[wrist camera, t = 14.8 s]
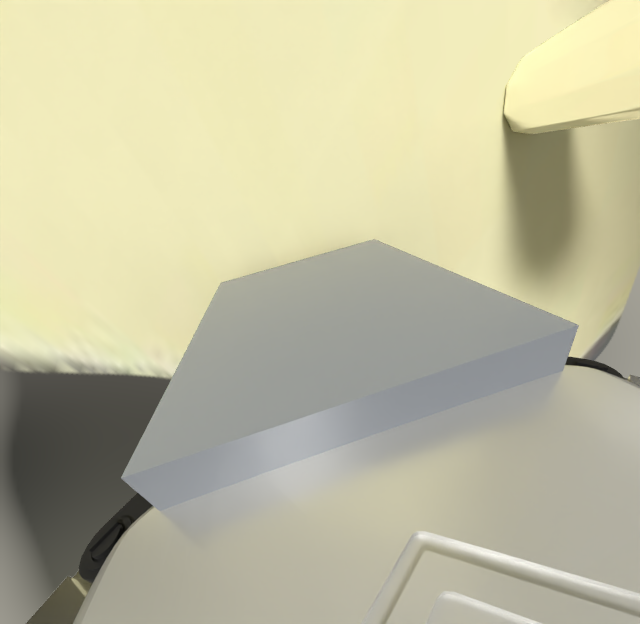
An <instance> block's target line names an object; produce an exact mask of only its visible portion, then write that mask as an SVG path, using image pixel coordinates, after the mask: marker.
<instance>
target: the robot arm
mask: <svg viewBox="0 0 640 624" xmlns="http://www.w3.org/2000/svg"><path fill="white" fill-rule="evenodd" d="M26 624H640V377H637V376H632V375H630V376H629V378H628V379H627V378H623V377H622V375H621V374H620V373H618V372H617V371H616V370H615V369H613V368H611V367H609V366H607V365H605V364H602V363H599V362H596V361H592V360H587V359H581V358H574V357H568V358H567V361H566V363H565V366H564V369H563V371H561V372H558V373H555V374H552V375H549V376H545V377H542V378H539V379H536V380H533V381H530V382H527V383H524V384H521V385H518V386H515V387H512V388H509V389H506V390H503V391H500V392H498V393H495V394H492V395H489V396H486V397H482V398H479V399H476V400H473V401H470V402H467V403H465V404H462V405H459V406H456V407H453V408H450V409H447V410H444V411H441V412H438V413H435V414H433V415H430V416H427V417H424V418H421V419H418V420H415V421H412V422H409V423H406V424H403V425H401V426H398V427H395V428H392V429H389V430H386V431H383V432H380V433H377V434H374V435H372V436H369V437H366V438H363V439H360V440H357V441H354V442H351V443H349V444H346V445H343V446H340V447H337V448H334V449H332V450H329V451H326V452H323V453H320V454H317V455H314V456H312V457H309V458H306V459H303V460H300V461H297V462H295V463H292V464H289V465H286V466H283V467H280V468H277V469H275V470H272V471H269V472H266V473H263V474H260V475H258V476H255V477H252V478H250V479H247V480H244V481H241V482H239V483H236V484H233V485H230V486H227V487H224V488H222V489H219V490H216V491H213V492H211V493H208V494H205V495H202V496H200V497H197V498H194V499H191V500H189V501H186V502H183V503H181V504H178V505H175V506H172V507H170V508H167V509H164V510H162V511H159V510H158V509H156V508H155V507H154V506H153V505H152V504H151V503H149V502H148V501H147V500H146V499H145V498H144V497H142V496H141V495H140V494H139V493H137V494H136V495H135V496H134V497H133V498H132V499H131V500H130V501H129V502H128V503H127V504H126V505H125V506H124V507H123V508H122V509H121V510H120V511H119V512H118V513H116V514H115V516H113V517H112V518H111V519H110V520H109V521H108V522H107V523H106V524H105V525H104V526H103V527H102V528H101V529H100V530H99V532H98V533H97V534H96V535H95V536H94V538H93V539H92V540H91V542H90V543H89V544H88V546H87V548H86V550H85V552H84V554H83V555H82V558H81V561H80V565H79V571H78V572H77V573H76V574H75V575H74V577H73V578H72V577H70V576H67V577H66V578H65V580H64V581H63V582H62V583H61V584H60V585H59V587H58V588H57V589H56V590H55V591H54V592H53V593H52V594H51V595H50V597H49V598H48V599H47V600H46V601H45V602H44V603H43V605H42V606H41V607H40V608H39V609H38V610H37V611H36V612H35V614H34V615H33V616H32V617H31V618H30V619H29V620H28V622H27V623H26Z"/></svg>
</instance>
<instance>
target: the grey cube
mask: <svg viewBox="0 0 640 624" xmlns="http://www.w3.org/2000/svg"><path fill="white" fill-rule="evenodd" d="M578 326H579V325H577V324H575V323H572V322H570V321H567V320H565V319H563V318H560V317H558V316H556V315H553V314H551V313H548V312H546V311H544V310H541V309H539V308H537V307H534V306H532V305H529V304H527V303H525V302H522V301H520V300H518V299H515V298H513V297H510V296H508V295H506V294H503V293H501V292H499V291H496V290H494V289H491V288H489V287H487V286H484V285H482V284H479V283H477V282H475V281H472V280H470V279H468V278H465V277H463V276H460V275H458V274H456V273H453V272H451V271H449V270H446V269H444V268H441V267H439V266H437V265H434V264H432V263H430V262H427V261H425V260H422V259H420V258H418V257H415V256H413V255H411V254H408V253H406V252H403V251H401V250H399V249H396V248H394V247H392V246H389V245H387V244H384V243H382V242H380V241H377V240H375V239H373V240H370V241H366V242H363V243H359V244H356V245H352V246H349V247H345V248H342V249H338V250H335V251H331V252H328V253H324V254H321V255H317V256H313V257H310V258H306V259H303V260H299V261H296V262H292V263H289V264H285V265H282V266H278V267H275V268H271V269H268V270H264V271H261V272H257V273H254V274H250V275H247V276H243V277H240V278H236V279H233V280H229V281H226V282H222V283H220V285H219V287H218V289H217V291H216V293H215V295H214V297H213V299H212V301H211V303H210V305H209V307H208V309H207V311H206V313H205V315H204V317H203V318H202V320H201V322H200V324H199V326H198V328H197V330H196V332H195V334H194V336H193V338H192V340H191V342H190V344H189V346H188V348H187V350H186V352H185V354H184V356H183V358H182V360H181V362H180V364H179V365H178V367H177V369H176V371H175V373H174V375H173V377H172V379H171V381H170V383H169V385H168V387H167V389H166V391H165V393H164V395H163V397H162V399H161V401H160V403H159V405H158V407H157V409H156V411H155V413H154V415H153V416H152V419H151V420H150V422H149V425H148V426H147V428H146V430H145V432H144V434H143V436H142V438H141V440H140V442H139V444H138V446H137V448H136V450H135V452H134V454H133V456H132V458H131V459H130V461H129V463H128V465H127V467H126V469H125V471H124V473H123V475H122V477H121V479H123V480H124V481H125V482H126V483H127V484H128V485H130V486H131V487H132V488H133V489H134V490H135V491H137V492H138V493H139V494H140V495H141V496H142V497H144V498H145V499H146V500H147V501H148V502H149V503H151V504H152V505H153V506H154V507H155V508H156V509H158V510H159V511H162V510H164V509H167V508H170V507H172V506H175V505H178V504H181V503H183V502H186V501H189V500H191V499H194V498H197V497H200V496H202V495H205V494H208V493H211V492H213V491H216V490H219V489H222V488H224V487H227V486H230V485H233V484H236V483H239V482H241V481H244V480H247V479H250V478H252V477H255V476H258V475H260V474H263V473H266V472H269V471H272V470H275V469H277V468H280V467H283V466H286V465H289V464H292V463H295V462H297V461H300V460H303V459H306V458H309V457H312V456H314V455H317V454H320V453H323V452H326V451H329V450H332V449H334V448H337V447H340V446H343V445H346V444H349V443H351V442H354V441H357V440H360V439H363V438H366V437H369V436H372V435H374V434H377V433H380V432H383V431H386V430H389V429H392V428H395V427H398V426H401V425H403V424H406V423H409V422H412V421H415V420H418V419H421V418H424V417H427V416H430V415H433V414H435V413H438V412H441V411H444V410H447V409H450V408H453V407H456V406H459V405H462V404H465V403H467V402H470V401H473V400H476V399H479V398H482V397H486V396H489V395H492V394H495V393H498V392H500V391H503V390H506V389H509V388H512V387H515V386H518V385H521V384H524V383H527V382H530V381H533V380H536V379H539V378H542V377H545V376H549V375H552V374H555V373H558V372H561V371H563V369H564V366H565V363H566V361H567V358H568V355H569V352H570V349H571V346H572V343H573V340H574V338H575V335H576V332H577V329H578Z"/></svg>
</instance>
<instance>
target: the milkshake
mask: <svg viewBox="0 0 640 624" xmlns="http://www.w3.org/2000/svg"><path fill="white" fill-rule="evenodd" d="M504 115H505V117H506V119H507V121H508V123H509V125H510V127H511V129H512V131H514V132H520V133H525V134H537V133H544V132H551V131H558V130H565V129H572V128H579V127H586V126H593V125H600V124H607V123H614V122H621V121H628V120H635V119H640V0H609V1H607V2H606V3H604V4H603V5H601V6H599V7H598V8H596V9H595V10H593V11H592V12H590V13H588V14H587V15H585V16H584V17H582V18H581V19H579V20H577V21H576V22H574V23H573V24H571V25H570V26H568V27H566V28H565V29H563V30H562V31H560V32H559V33H557V34H556V35H554V36H552V37H551V38H549V39H548V40H546V41H545V42H543V43H542V44H541V45H539V46H538V47H536V48H535V49H533V50H532V51H530V52H529V53H527V54H526V55H524V56H523V57H522V58H521V60H520V62H519V64H518V65H517V67H516V69H515V71H514V73H513V75H512V77H511V78H510V80H509V82H508V84H507V87H506V97H505V106H504Z"/></svg>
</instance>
